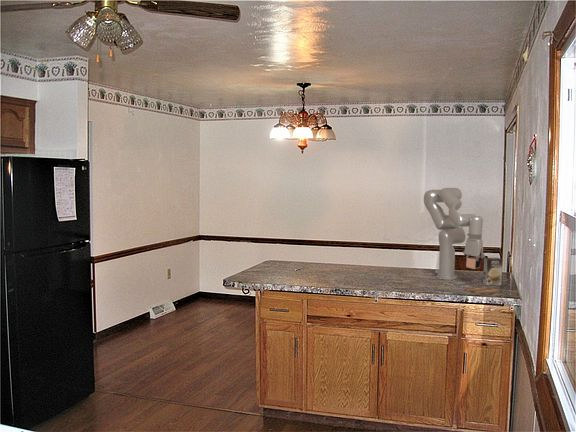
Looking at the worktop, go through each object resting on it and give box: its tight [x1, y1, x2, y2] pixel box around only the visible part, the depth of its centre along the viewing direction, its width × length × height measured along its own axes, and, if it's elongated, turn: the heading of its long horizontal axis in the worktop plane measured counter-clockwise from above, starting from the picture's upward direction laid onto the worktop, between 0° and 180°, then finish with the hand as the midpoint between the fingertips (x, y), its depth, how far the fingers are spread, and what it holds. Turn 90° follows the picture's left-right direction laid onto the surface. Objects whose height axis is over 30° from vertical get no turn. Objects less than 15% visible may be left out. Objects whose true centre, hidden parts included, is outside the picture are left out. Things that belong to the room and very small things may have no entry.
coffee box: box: [482, 257, 503, 286], centre depth 338 cm, size 9×6×16 cm
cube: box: [465, 256, 481, 270], centre depth 333 cm, size 6×6×6 cm
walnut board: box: [464, 285, 502, 296], centre depth 319 cm, size 14×14×1 cm
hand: (472, 266), depth 333 cm, fingers closed on cube, 5 cm apart
